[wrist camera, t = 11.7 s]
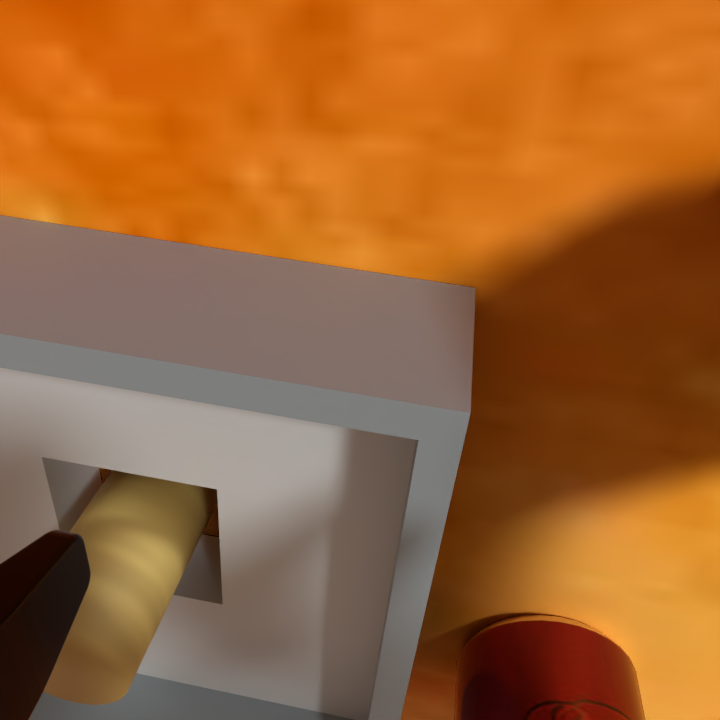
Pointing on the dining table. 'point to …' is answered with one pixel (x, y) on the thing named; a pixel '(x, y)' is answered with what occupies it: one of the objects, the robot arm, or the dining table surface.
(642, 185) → the dining table surface
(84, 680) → the yellow peg
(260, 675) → the slate box
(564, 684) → the soda can
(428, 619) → the dining table surface
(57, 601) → the robot arm
